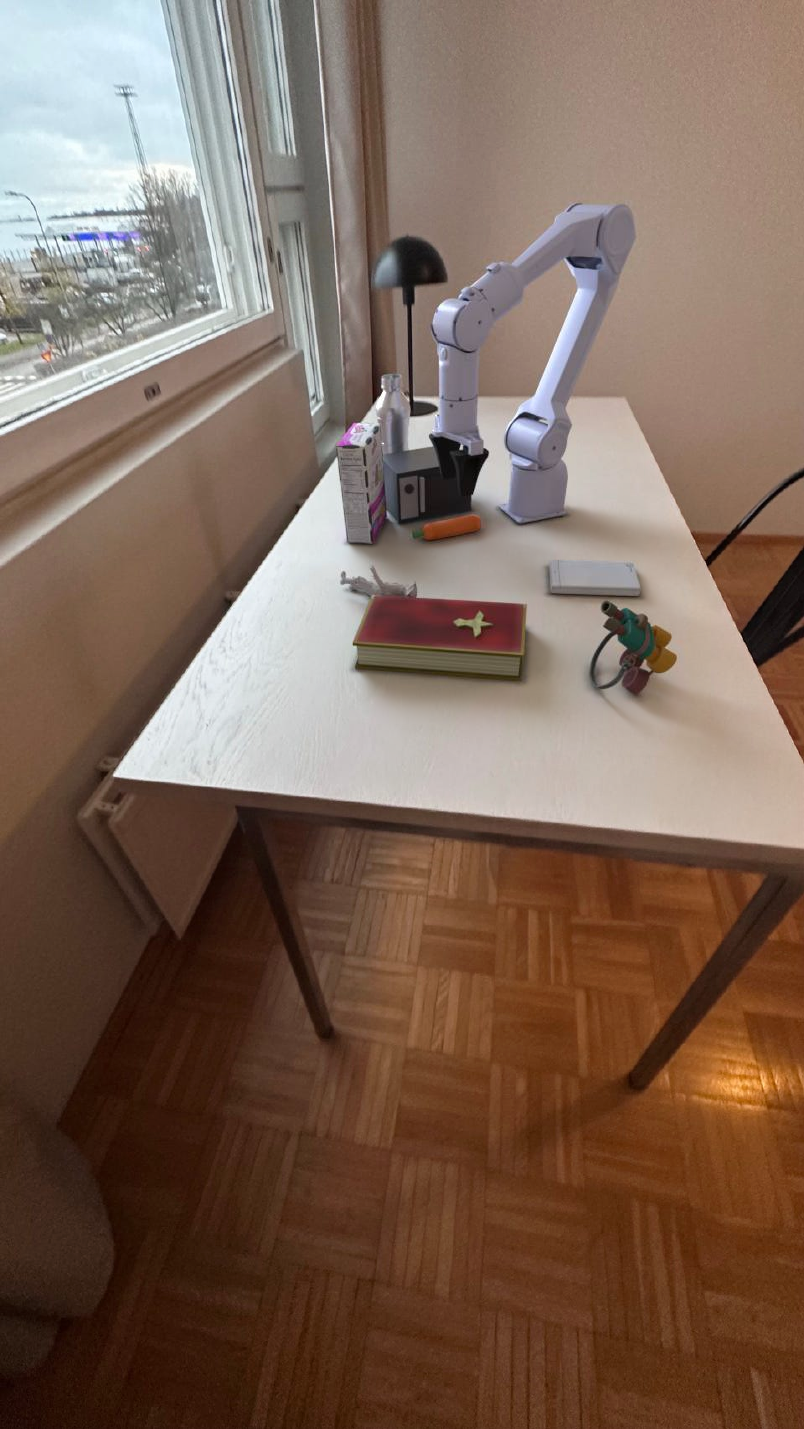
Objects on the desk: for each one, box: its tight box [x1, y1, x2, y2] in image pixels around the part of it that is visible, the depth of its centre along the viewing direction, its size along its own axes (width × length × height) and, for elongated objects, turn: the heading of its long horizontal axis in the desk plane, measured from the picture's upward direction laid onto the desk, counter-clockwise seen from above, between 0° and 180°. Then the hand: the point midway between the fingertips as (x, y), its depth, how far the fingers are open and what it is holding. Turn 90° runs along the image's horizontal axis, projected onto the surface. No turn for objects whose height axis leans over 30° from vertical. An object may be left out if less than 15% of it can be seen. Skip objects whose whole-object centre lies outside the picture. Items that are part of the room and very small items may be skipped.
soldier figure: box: [339, 564, 418, 598], centre depth 92 cm, size 8×5×12 cm
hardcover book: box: [351, 595, 528, 682], centre depth 82 cm, size 12×21×4 cm, turn 80°
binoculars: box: [589, 600, 678, 695], centre depth 74 cm, size 9×9×10 cm
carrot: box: [411, 514, 482, 541], centre depth 107 cm, size 12×3×3 cm, turn 109°
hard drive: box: [548, 559, 641, 597], centre depth 94 cm, size 2×8×12 cm
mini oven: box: [383, 445, 473, 525], centre depth 114 cm, size 11×14×9 cm
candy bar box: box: [335, 422, 388, 545], centre depth 106 cm, size 11×5×16 cm, turn 168°
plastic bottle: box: [375, 373, 411, 454], centre depth 119 cm, size 6×7×20 cm
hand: (457, 486), depth 102 cm, fingers open, 7 cm apart
